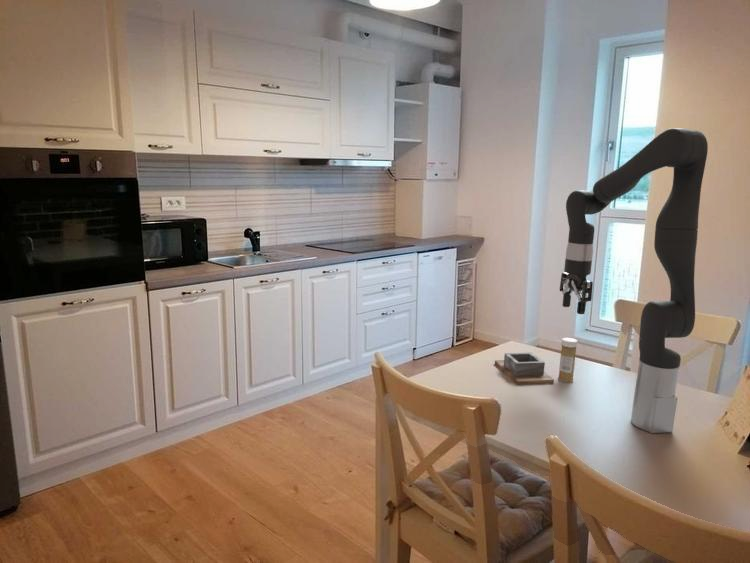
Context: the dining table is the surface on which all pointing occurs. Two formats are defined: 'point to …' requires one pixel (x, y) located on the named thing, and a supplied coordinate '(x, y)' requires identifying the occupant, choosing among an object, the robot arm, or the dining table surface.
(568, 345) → the sprinkles bottle
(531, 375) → the socket holder
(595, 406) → the dining table surface
